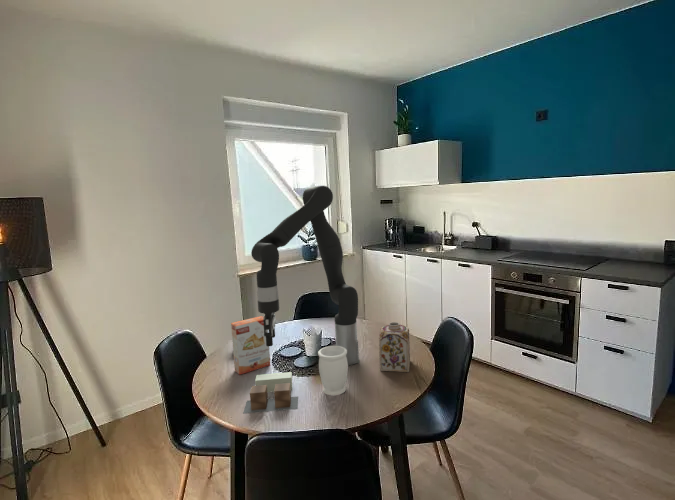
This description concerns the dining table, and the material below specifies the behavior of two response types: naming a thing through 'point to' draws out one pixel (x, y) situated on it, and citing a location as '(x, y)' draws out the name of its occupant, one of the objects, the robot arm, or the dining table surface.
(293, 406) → the mat
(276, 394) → the pillar
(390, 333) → the decorative jar
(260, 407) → the pillar
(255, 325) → the cracker box
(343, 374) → the jar
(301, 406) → the dining table surface
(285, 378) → the plank
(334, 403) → the dining table surface
